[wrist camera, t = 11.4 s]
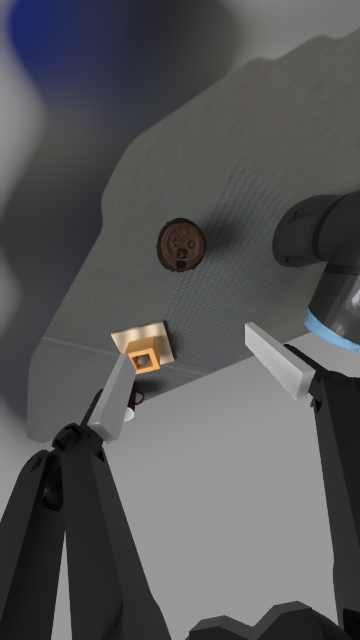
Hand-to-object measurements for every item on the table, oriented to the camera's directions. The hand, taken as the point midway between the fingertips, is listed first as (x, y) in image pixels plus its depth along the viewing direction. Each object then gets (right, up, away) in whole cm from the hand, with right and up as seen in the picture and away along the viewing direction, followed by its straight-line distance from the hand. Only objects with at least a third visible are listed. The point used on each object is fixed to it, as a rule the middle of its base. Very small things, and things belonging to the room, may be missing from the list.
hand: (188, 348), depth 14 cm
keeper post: (-13, -6, +30) cm, 33 cm away
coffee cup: (-2, +20, +18) cm, 28 cm away
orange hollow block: (-12, -6, +29) cm, 32 cm away
